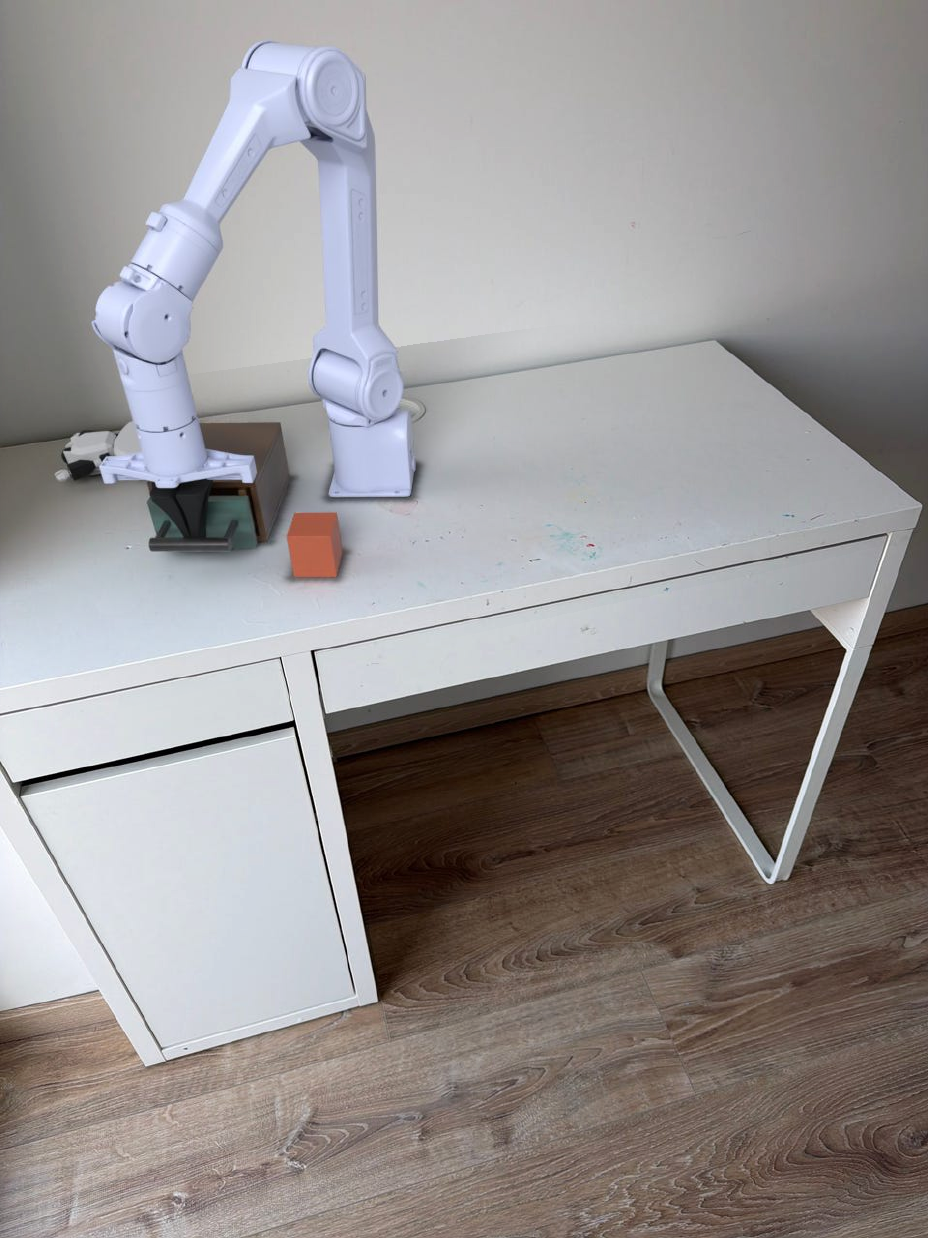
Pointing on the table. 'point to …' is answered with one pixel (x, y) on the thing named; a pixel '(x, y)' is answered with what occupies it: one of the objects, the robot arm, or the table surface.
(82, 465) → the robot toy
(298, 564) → the block
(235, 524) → the drawer
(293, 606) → the table surface
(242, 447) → the cabinet
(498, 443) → the table surface
